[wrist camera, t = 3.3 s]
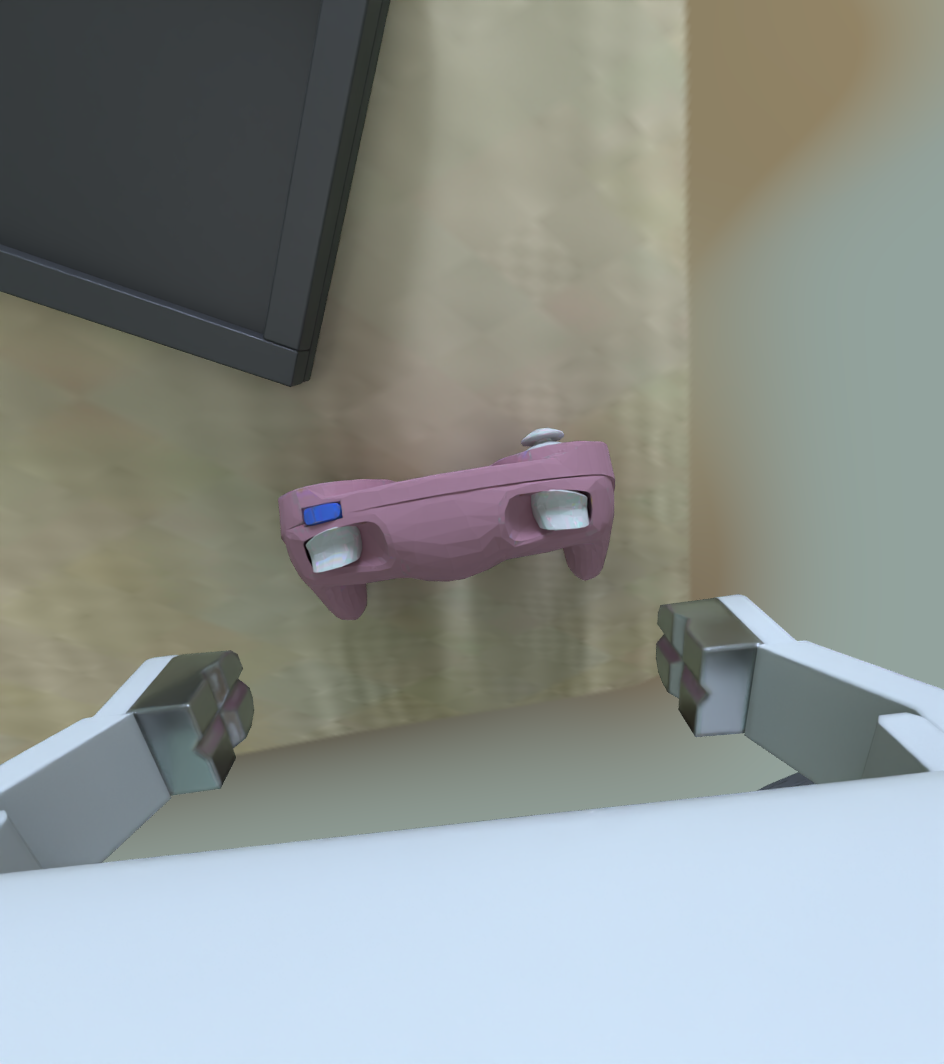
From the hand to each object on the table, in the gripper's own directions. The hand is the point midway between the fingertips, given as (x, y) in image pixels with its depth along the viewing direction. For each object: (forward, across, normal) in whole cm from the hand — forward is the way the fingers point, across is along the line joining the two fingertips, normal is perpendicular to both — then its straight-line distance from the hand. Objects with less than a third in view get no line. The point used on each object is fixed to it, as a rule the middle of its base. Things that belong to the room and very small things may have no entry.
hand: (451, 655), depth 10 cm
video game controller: (+9, 0, 0) cm, 9 cm away
